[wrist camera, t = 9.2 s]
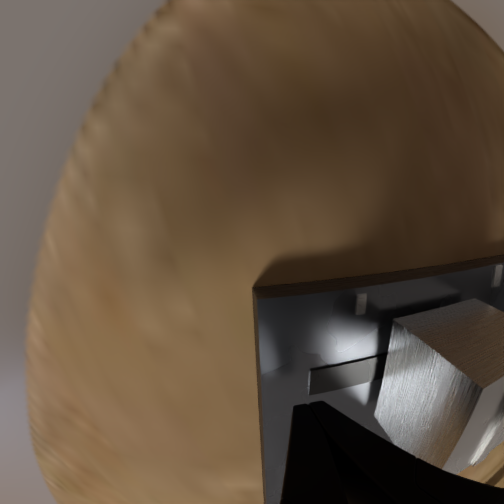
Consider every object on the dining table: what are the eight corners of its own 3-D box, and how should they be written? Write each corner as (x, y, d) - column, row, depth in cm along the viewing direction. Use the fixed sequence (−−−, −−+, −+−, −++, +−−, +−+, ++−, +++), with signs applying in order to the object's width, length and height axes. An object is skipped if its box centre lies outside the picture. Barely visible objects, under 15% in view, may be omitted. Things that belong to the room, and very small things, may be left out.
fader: (474, 297, 8) (557, 341, 4) (451, 385, 9) (511, 439, 5) (393, 318, 8) (488, 393, 4) (374, 415, 9) (429, 495, 5)
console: (550, 245, 11) (562, 249, 10) (488, 435, 14) (495, 442, 13) (252, 287, 9) (257, 300, 8) (265, 524, 12) (268, 536, 11)
